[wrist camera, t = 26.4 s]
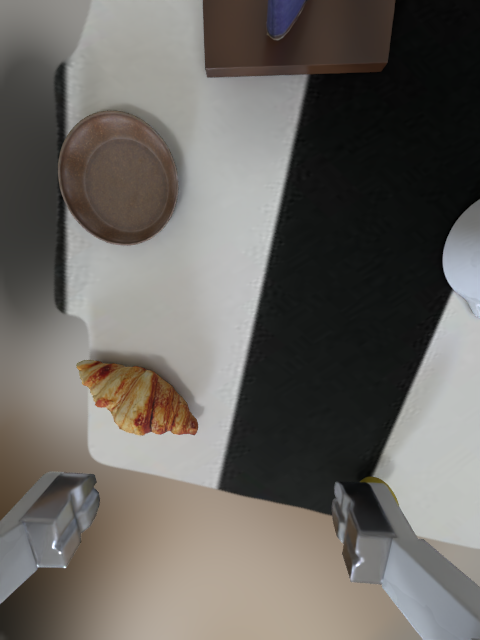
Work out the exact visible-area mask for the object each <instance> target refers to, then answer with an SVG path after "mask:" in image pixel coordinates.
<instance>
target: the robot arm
mask: <svg viewBox="0 0 480 640" xmlns="http://www.w3.org/2000/svg"><path fill="white" fill-rule="evenodd" d="M443 269H444V273H445V276H446V279H447V281H448V283H449V284H450V286H451V287H452V288H453V289H454V290H455V291H456V292H457V293H458V294H459V295H461V296H462V297H463V298H465V299H466V300H467V301H468V303H469V306H470V308H471V310H472V312H473V314H474V315H475V316H476V317H479V318H480V199H479V200H478V201H476V202H475V203H474V204H472V205H471V206H470V207H469V208H468V209H467V210H466V211H465V212H464V213H463V214H462V215H461V216H460V217H459V218H458V220H457V221H456V222H455V224H454V226H453V227H452V229H451V231H450V233H449V235H448V237H447V240H446V243H445V246H444V251H443ZM95 484H96V478H95V475H94V474H83V473H68V472H48V473H46V474H44V475H43V476H42V477H41V478H40V479H39V480H38V481H37V482H36V483H35V485H34V486H33V487H32V488H31V489H30V490H29V491H28V492H27V493H26V494H25V495H24V496H23V497H22V498H21V500H20V501H19V502H18V503H17V504H16V505H15V506H14V507H13V508H12V509H11V510H10V511H9V513H7V515H6V516H5V517H4V518H3V519H2V520H1V521H0V603H2V602H3V601H4V600H5V599H6V598H7V597H8V596H9V595H10V594H11V593H12V592H13V591H15V589H16V588H18V587H19V586H20V585H21V584H22V583H23V582H24V581H25V580H26V579H28V578H29V577H30V576H31V575H32V574H33V573H34V572H35V571H36V570H37V569H38V568H37V567H65V568H66V567H67V565H68V563H69V562H70V560H71V558H72V557H73V555H74V553H75V551H76V550H77V548H78V546H79V545H80V543H81V533H82V532H84V531H85V530H86V529H87V528H89V527H90V526H91V524H92V522H93V520H94V519H95V517H96V514H97V511H98V508H99V502H100V497H99V492H98V491H97V490H96V489H94V485H95ZM334 492H335V495H336V498H335V499H334V500H333V501H332V517H333V523H334V527H335V531H336V535H337V537H338V538H339V539H340V541H341V542H342V543H343V544H344V545H343V552H342V555H343V558H344V561H345V565H346V568H347V571H348V574H349V578H350V581H351V582H358V583H370V584H382V587H383V589H384V590H385V591H386V592H387V594H388V595H389V596H390V598H391V599H392V600H393V602H394V603H395V604H396V605H397V607H398V608H399V609H400V611H401V612H402V613H403V614H404V616H405V617H406V618H407V620H408V621H409V622H410V623H411V625H412V626H413V627H414V629H415V630H416V631H417V632H418V634H419V635H420V636H421V637H422V639H423V640H480V587H479V586H478V585H477V584H476V583H475V582H473V581H472V580H471V579H470V578H469V577H467V576H466V575H465V574H464V573H463V572H461V571H460V570H459V569H458V568H457V567H456V566H454V565H453V564H452V563H451V562H450V561H448V560H447V559H446V558H445V557H444V556H443V555H441V554H440V553H439V552H438V551H437V550H436V549H434V548H433V547H432V546H431V545H430V544H428V543H427V542H426V541H425V540H424V539H418V538H417V536H416V535H415V533H414V531H413V529H412V528H411V526H410V524H409V523H408V521H407V519H406V518H405V516H404V514H403V512H402V511H401V509H400V507H399V506H398V504H397V502H396V501H395V499H394V497H393V495H392V494H391V492H390V490H389V489H388V487H387V486H386V485H385V484H384V483H366V482H336V483H335V486H334Z"/></svg>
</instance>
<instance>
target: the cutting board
mask: <svg viewBox="0 0 480 640" xmlns="http://www.w3.org/2000/svg"><path fill="white" fill-rule="evenodd" d="M394 7H395V0H307V2H306V4H305V5H304V7H303V10H302V12H301V14H300V15H299V16H298V19H297V20H296V21H295V23H294V24H293V26H292V27H291V29H290V30H289V32H288V33H287V34H286V35H285V36H284V37H283V38H281V39H280V40H273V39H272V38H270V36H269V35H267V29H266V22H267V10H268V0H203V20H204V49H205V70H206V74H207V77H238V76H268V75H298V74H328V73H358V72H381V71H382V69H383V68H384V67H385V65H386V64H387V62H388V55H389V47H390V39H391V31H392V23H393V15H394Z"/></svg>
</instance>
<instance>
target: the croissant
mask: <svg viewBox="0 0 480 640" xmlns="http://www.w3.org/2000/svg"><path fill="white" fill-rule="evenodd" d="M76 366H77V368H78V370H79V374H80V378H81V380H82V384H83V385H85V386H87V387H88V388H89V389H90V392H91V394H92V395H93V398H94V399H93V400H94V401H95V402H96V404H95V405H96V406H97V407H101V408H102V407H106V408H107V409H108V410H109V411H111V414H112V416H113V417H114V422H115V423H116V424H117V425H118V426H119V429H121V430H124V431H126V432H129V433H134V434H136V435H144V434H146V433H149V432H153V433H155V434H160V435H161V434H163V433H165V432H167V431H171V432H172V433H173V434H178V435H181V434H191V435H195V434H196V433H197V430H198V422H197V419H196V418H195V417H194V416H193V415H192V413H191V412H190V411H189V408H188V405H187V403H186V402H185V400H184V399H183V398H182V397H181V396H180V395H179V394H178V393H177V392H176V391H175V389H174V388H173V386H172V385H170V384H169V383H168V382H166V381H165V380H163V379H162V378H161V377H160V376H159V375H158V374H156V373H155V372H153V371H151V370H146V369H145V368H142V367H138V366H133V367H130V366H129V367H124V365H121V364H115V363H111V364H107V363H105V364H103V363H102V362H100V361H94V360H84V361H81V362H79V363H77V365H76Z"/></svg>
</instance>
